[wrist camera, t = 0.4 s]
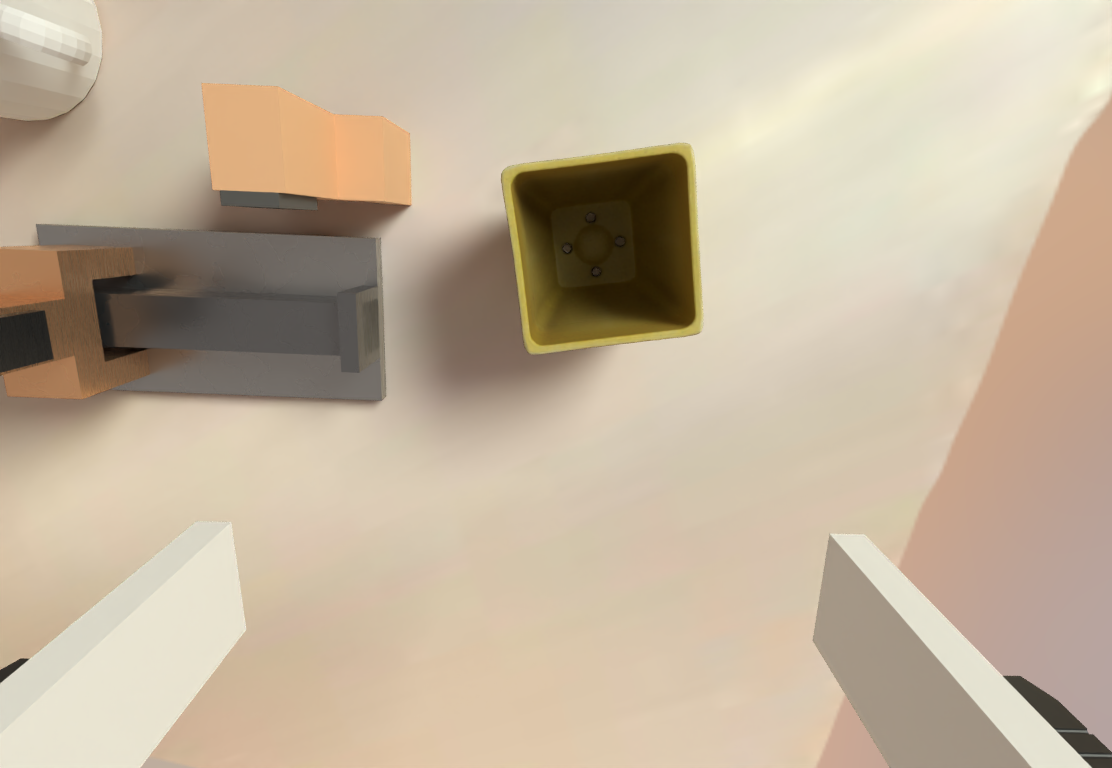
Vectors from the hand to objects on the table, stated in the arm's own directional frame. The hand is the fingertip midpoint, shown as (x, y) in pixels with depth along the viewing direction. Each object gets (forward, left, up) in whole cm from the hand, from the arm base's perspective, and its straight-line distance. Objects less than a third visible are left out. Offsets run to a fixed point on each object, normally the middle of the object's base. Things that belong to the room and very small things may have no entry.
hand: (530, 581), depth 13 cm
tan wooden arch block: (-10, -13, -26) cm, 30 cm away
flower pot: (-6, +2, -26) cm, 27 cm away
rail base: (-1, -21, -25) cm, 33 cm away
